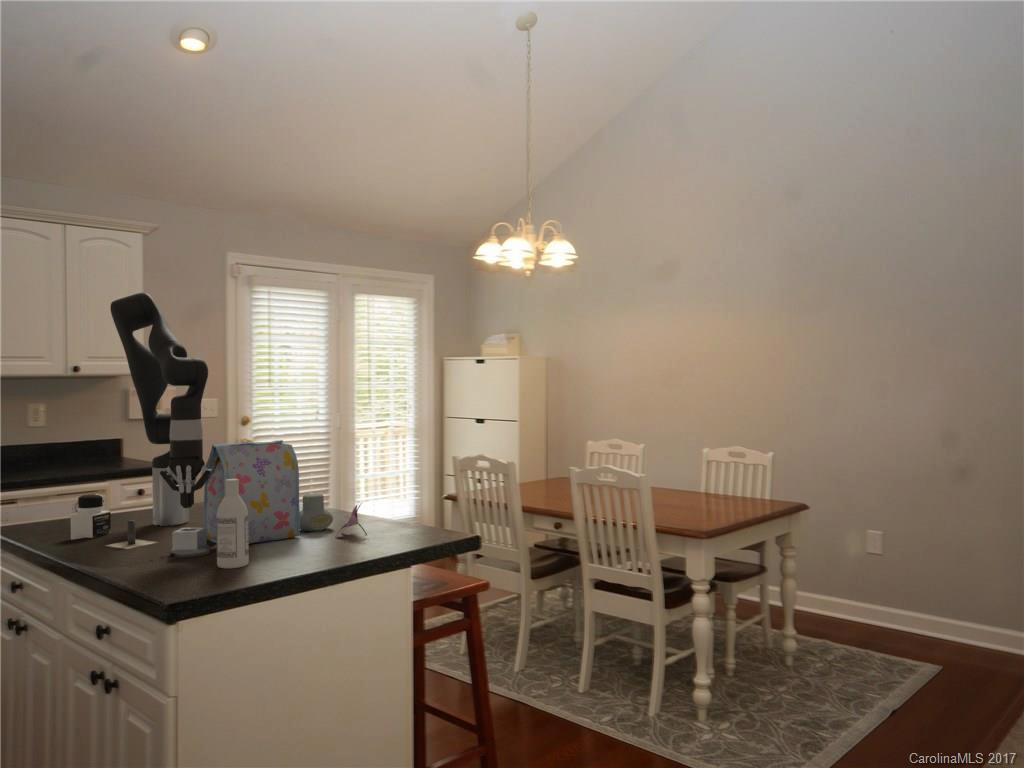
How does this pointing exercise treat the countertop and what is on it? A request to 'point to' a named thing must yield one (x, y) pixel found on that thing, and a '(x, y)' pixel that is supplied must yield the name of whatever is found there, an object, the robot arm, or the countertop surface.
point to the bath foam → (232, 529)
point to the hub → (190, 552)
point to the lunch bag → (256, 488)
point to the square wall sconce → (189, 538)
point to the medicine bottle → (90, 518)
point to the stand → (131, 539)
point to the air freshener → (314, 514)
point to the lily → (352, 519)
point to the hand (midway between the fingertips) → (187, 507)
